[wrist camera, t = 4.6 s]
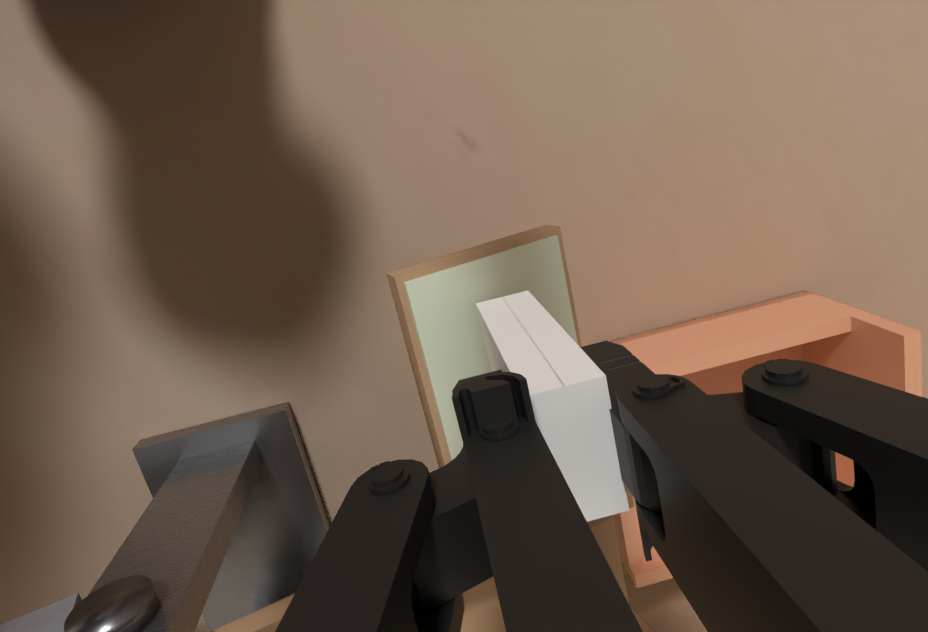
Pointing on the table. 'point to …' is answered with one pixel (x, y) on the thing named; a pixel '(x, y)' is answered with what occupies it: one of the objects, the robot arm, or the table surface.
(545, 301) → the lever
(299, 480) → the bracket
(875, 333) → the pink open box
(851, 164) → the table surface
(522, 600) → the robot arm
